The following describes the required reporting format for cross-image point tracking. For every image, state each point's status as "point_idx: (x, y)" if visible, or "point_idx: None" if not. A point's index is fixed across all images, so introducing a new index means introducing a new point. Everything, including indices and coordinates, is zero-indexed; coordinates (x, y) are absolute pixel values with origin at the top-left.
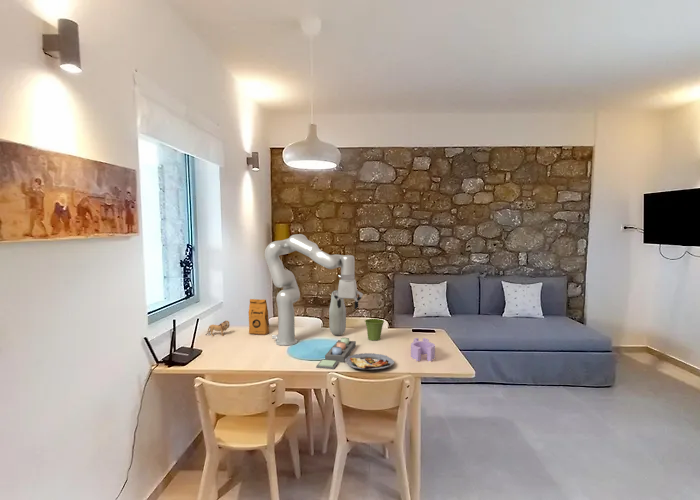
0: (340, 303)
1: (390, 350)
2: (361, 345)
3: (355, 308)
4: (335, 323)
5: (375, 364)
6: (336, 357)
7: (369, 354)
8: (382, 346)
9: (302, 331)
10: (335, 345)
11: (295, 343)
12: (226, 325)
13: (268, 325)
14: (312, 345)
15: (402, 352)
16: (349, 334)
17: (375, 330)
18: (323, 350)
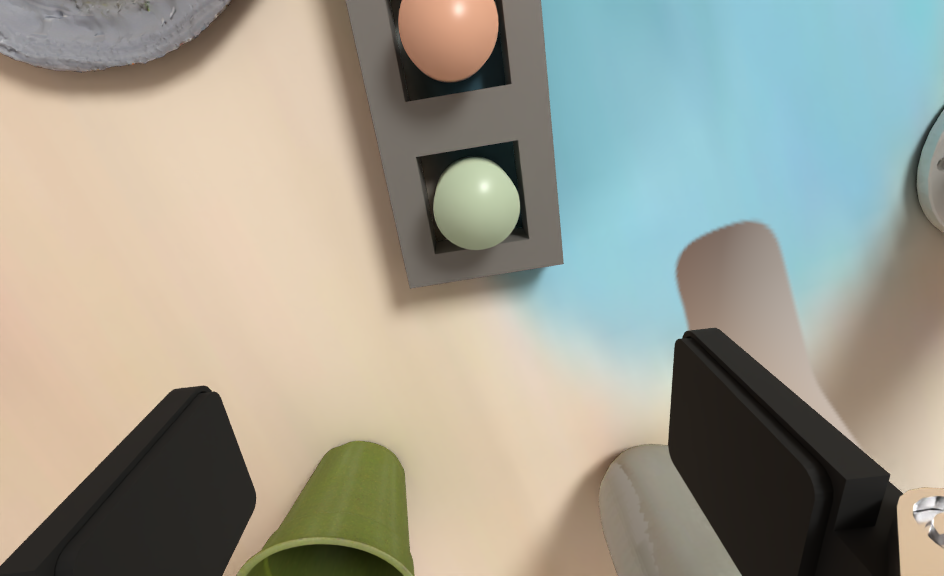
0: (720, 506)
1: (115, 280)
2: (381, 312)
3: (183, 388)
4: (692, 502)
5: None
6: None
7: (152, 32)
8: (224, 348)
9: (915, 451)
10: (532, 90)
11: (926, 140)
12: None
13: None
14: (764, 161)
15: (4, 269)
16: (566, 503)
17: (307, 498)
18: (630, 59)
